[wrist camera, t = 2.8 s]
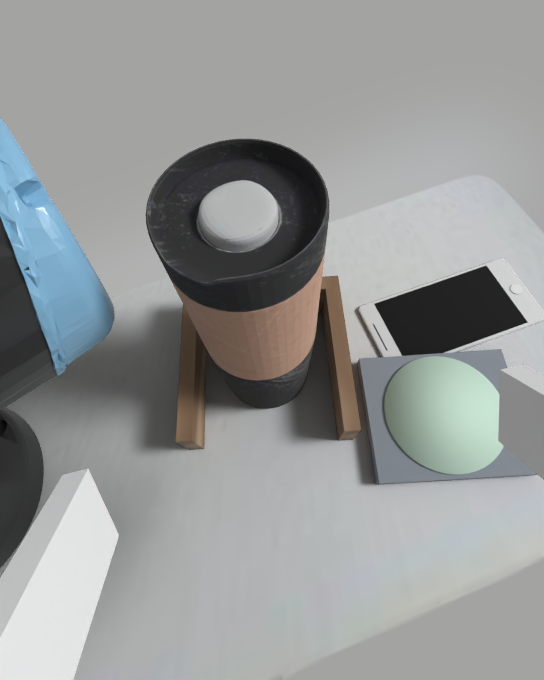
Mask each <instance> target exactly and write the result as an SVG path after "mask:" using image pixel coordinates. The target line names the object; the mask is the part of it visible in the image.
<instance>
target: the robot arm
mask: <svg viewBox="0 0 544 680" xmlns="http://www.w3.org/2000/svg"><path fill="white" fill-rule="evenodd" d="M113 321H114V308H113V304H112V302H111V300H110V298H109V296H108V294H107V292H106V290H105V288H104V286H103V284H102V283H101V281H100V279H99V277H98V276H97V274H96V272H95V270H94V269H93V267H92V265H91V264H90V262H89V260H88V259H87V257H86V255H85V253H84V252H83V250H82V248H81V247H80V245H79V243H78V242H77V240H76V238H75V237H74V235H73V233H72V232H71V230H70V228H69V227H68V225H67V223H66V222H65V220H64V219H63V217H62V215H61V214H60V212H59V210H58V209H57V207H56V206H55V204H54V203H53V201H52V200H51V199H50V197H49V196H48V194H47V191H46V189H45V188H44V186H43V185H42V183H41V181H40V180H39V178H38V176H37V175H36V173H35V172H34V170H33V168H32V166H31V164H30V162H29V161H28V159H27V158H26V156H25V154H24V153H23V151H22V149H21V148H20V146H19V145H18V143H17V141H16V140H15V138H14V137H13V135H12V133H11V132H10V130H9V129H8V127H7V126H6V124H5V123H4V121H3V120H2V118H1V117H0V567H1V566H2V565H3V564H4V563H5V562H6V561H7V559H8V558H9V557H10V556H11V554H12V553H13V552H14V550H15V549H16V548H17V546H18V545H19V543H20V542H21V540H22V539H23V537H24V535H25V533H26V532H27V530H28V528H29V526H30V524H31V522H32V519H33V517H34V515H35V512H36V509H37V506H38V503H39V500H40V496H41V491H42V485H43V458H42V452H41V448H40V445H39V442H38V440H37V437H36V435H35V433H34V432H33V430H32V429H31V427H30V426H29V425H28V424H27V422H26V421H25V420H24V419H22V418H21V417H20V416H19V415H17V414H16V413H14V412H12V411H11V410H8V409H6V408H5V407H6V406H8V405H9V404H11V403H13V402H14V401H16V400H17V399H19V398H20V397H22V396H24V395H25V394H27V393H28V392H30V391H31V390H33V389H35V388H36V387H38V386H39V385H41V384H43V383H44V382H46V381H47V380H49V379H50V378H52V377H54V376H55V375H56V376H59V375H61V374H62V372H64V371H65V370H66V368H67V365H68V364H70V363H71V362H72V361H74V360H75V359H77V358H78V357H79V356H81V355H82V354H84V353H85V352H86V351H88V350H89V349H91V348H92V347H94V346H95V345H96V344H98V343H99V342H101V341H102V340H103V339H104V338H105V337H106V336H107V334H108V333H109V332H110V330H111V327H112V324H113ZM498 441H499V442H500V443H501V444H503V445H504V446H505V447H506V448H507V449H508V450H510V451H511V452H512V453H513V454H514V455H515V456H517V457H518V458H519V459H520V460H521V461H523V462H524V463H525V464H526V465H527V466H528V467H530V468H531V469H532V470H533V471H534V472H535V473H537V474H538V475H539V476H540V477H541V478H543V479H544V375H543V374H541V373H539V372H537V371H535V370H533V369H531V368H529V367H527V366H525V365H523V364H522V365H518V366H514V367H509V368H505V369H501V370H500V395H499V430H498ZM118 537H119V534H118V532H117V530H116V528H115V525H114V523H113V521H112V519H111V517H110V515H109V512H108V510H107V508H106V506H105V504H104V502H103V500H102V497H101V495H100V493H99V491H98V489H97V487H96V484H95V482H94V480H93V478H92V476H91V474H90V471H89V469H84V470H80V471H76V472H72V473H67V474H63V475H62V477H61V478H60V480H59V482H58V483H57V485H56V486H55V488H54V490H53V491H52V493H51V495H50V496H49V498H48V500H47V501H46V503H45V505H44V506H43V508H42V510H41V511H40V513H39V515H38V516H37V518H36V520H35V521H34V523H33V525H32V526H31V528H30V530H29V531H28V533H27V535H26V536H25V538H24V540H23V541H22V543H21V545H20V546H19V548H18V550H17V551H16V553H15V554H14V556H13V558H12V559H11V561H10V563H9V564H8V566H7V568H6V569H5V571H4V573H3V574H2V576H1V578H0V680H73V678H74V675H75V672H76V669H77V666H78V663H79V660H80V656H81V653H82V650H83V647H84V644H85V641H86V638H87V634H88V631H89V628H90V625H91V622H92V619H93V616H94V613H95V609H96V606H97V603H98V600H99V597H100V594H101V591H102V587H103V584H104V581H105V578H106V575H107V572H108V569H109V566H110V562H111V559H112V556H113V553H114V550H115V547H116V544H117V540H118Z"/></svg>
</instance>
